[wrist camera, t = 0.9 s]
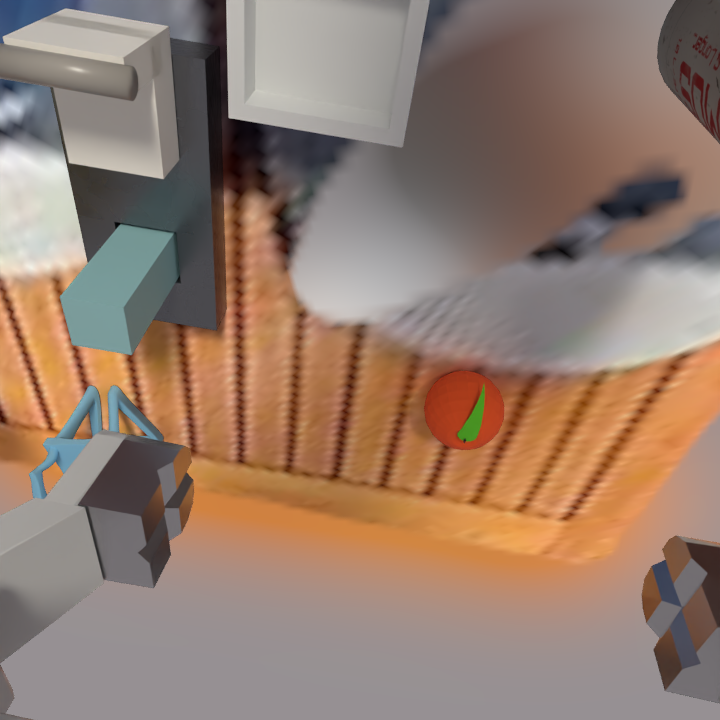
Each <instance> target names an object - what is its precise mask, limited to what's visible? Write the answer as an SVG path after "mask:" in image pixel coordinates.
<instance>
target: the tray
mask: <svg viewBox="0 0 720 720" xmlns="http://www.w3.org/2000/svg"><path fill="white" fill-rule="evenodd" d="M429 2H430V0H226V9H227V60H228V111H229V118H232V119H238V120H244V121H249V122H255V123H261V124H267V125H273V126H278V127H284V128H290V129H296V130H302V131H308V132H313V133H319V134H325V135H331V136H337V137H342V138H348V139H354V140H360V141H366V142H371V143H377V144H383V145H389V146H395V147H401V148H403V143H404V137H405V132H406V127H407V122H408V116H409V110H410V105H411V100H412V94H413V89H414V83H415V78H416V72H417V67H418V62H419V56H420V51H421V45H422V40H423V34H424V29H425V23H426V18H427V13H428V7H429Z"/></svg>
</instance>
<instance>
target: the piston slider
mask: <svg viewBox="0 0 720 720" xmlns="http://www.w3.org/2000/svg"><path fill="white" fill-rule="evenodd" d="M3 40H4V44H2V43H0V78H1V79H7V80H13V81H19V82H25V83H30V84H36V85H42V86H48V87H53V89H54V94H55V99H56V103H57V108H58V113H59V118H60V122H61V127H62V132H63V137H64V141H65V146H66V151H67V156H68V160H69V163H72V164H78V165H84V166H90V167H95V168H101V169H107V170H113V171H119V172H125V173H131V174H136V175H142V176H148V177H154V178H160V179H164V178H165V177H166V176H167V174H168V173H169V172H170V171H171V169H172V168H173V167H174V166H175V165H176V163H177V162H178V161H179V148H178V135H177V122H176V110H175V97H174V84H173V72H172V59H171V46H170V34H169V26H164V25H158V24H153V23H147V22H141V21H135V20H129V19H124V18H118V17H112V16H106V15H101V14H95V13H89V12H83V11H78V10H72V9H63V10H61V11H59V12H57V13H54V14H52V15H50V16H48V17H46V18H43V19H41V20H39V21H37V22H34V23H32V24H30V25H28V26H25V27H23V28H21V29H19V30H17V31H14V32H12V33H10V34H8V35H5V36H3Z"/></svg>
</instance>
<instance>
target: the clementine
mask: <svg viewBox="0 0 720 720" xmlns="http://www.w3.org/2000/svg"><path fill="white" fill-rule="evenodd" d="M424 411H425V418H426V423H427V425H428V427H429V429H430V430H431V432H432V434H433V435H434V436H435V437H436V438H437V439H438V440H439V441H440V442H442V443H443V444H445V445H447V446H448V447H451V448H454V449H460V450H470V449H476V448H479V447H481V446H483V445H485V444H486V443H488V442H489V441H490V440H492V439H493V438H494V437H495V435H496V434H497V433H498V431H499V429H500V427H501V425H502V422H503V419H504V403H503V400H502V397H501V394H500V392H499V390H498V389H497V388H496V387H495V385H494V384H493V383H492V382H491V381H490V380H489V379H487V378H486V377H484V376H483V375H480V374H478V373H475V372H471V371H456V372H452V373H450V374H448V375H445V376H443V377H442V378H440V379H439V380H438V381H436V382H435V384H434V385H433V387H432V388H431V389H430V391H429V392H428V394H427V398H426V402H425V406H424Z"/></svg>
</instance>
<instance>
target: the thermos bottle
mask: <svg viewBox="0 0 720 720" xmlns="http://www.w3.org/2000/svg"><path fill="white" fill-rule="evenodd" d="M657 59H658V64H659V70H660V73H661V75H662V77H663V80H664V82H665V83H666V84H667V86H668V87H669V88H670V90H671V91H672V92H673V93H674V94H675V95H676V96H677V98H678V99H679V100H680V101H681V102H682V103H683V104H684V105H685V106H686V107H687V108H688V110H689V111H690V112H691V113H692V114H693V115H694V116H695V117H696V118H697V119H698V120H699V122H700V123H701V124H702V125H703V126H704V127H705V128H706V129H707V130H708V131H709V132H710V133H711V135H712V136H713V137H714V138H715V139H716V140H717V141H718V142H719V144H720V0H676V1H675V3H674V4H673V6H672V8H671V9H670V11H669V13H668V14H667V17H666V19H665V21H664V24H663V26H662V29H661V33H660V37H659V42H658V55H657Z"/></svg>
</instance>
